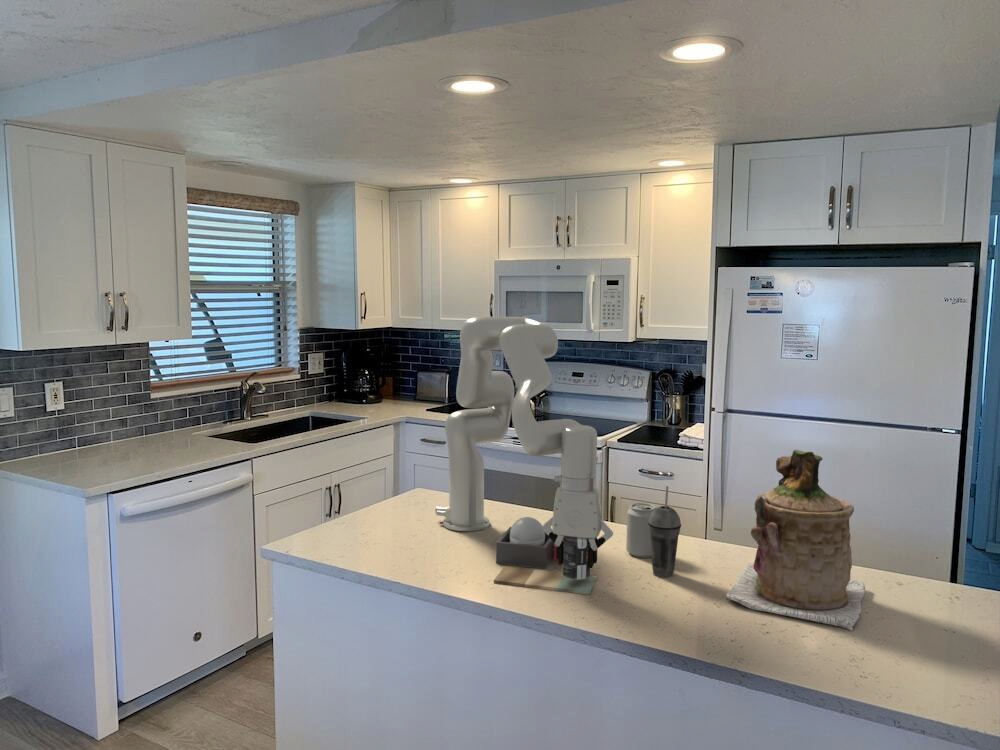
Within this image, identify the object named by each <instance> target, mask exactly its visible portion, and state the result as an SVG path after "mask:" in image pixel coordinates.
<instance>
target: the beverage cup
mask: <svg viewBox="0 0 1000 750" xmlns="http://www.w3.org/2000/svg"><path fill="white" fill-rule="evenodd" d="M668 495H669V486H667V485H666V486H665V496H664V499H665V500H664V505H662V506H658V507H656V509H655V510H654V511H653V512H652V513H651V516H650V518H649V522H648V524H649V531H650V536H651V554H652V557H651V566H652V567H651V568H652V574H653V576H655V577H658V578H663V579H664V578H668V579H669V578H671V577H674V571H675V566H676V558H677V557H676V556H677V550H678V543H679V542H678V541H679V536H680V532H681V528H682V522H681V518H680V515H679V514H678V512H677V511H676V510H675V509H674V508H672V507H670V506H668V500H669V499H668V498H669V496H668Z"/></svg>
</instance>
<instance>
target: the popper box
mask: <svg viewBox="0 0 1000 750" xmlns="http://www.w3.org/2000/svg"><path fill="white" fill-rule="evenodd" d="M511 527H512V526H509V528H507V530H506V531H505V532H504V533H503V534H502V535H501V537H499V538H498V539H497V541H496V542H495V563H496V564H502V565H508V566H510V565H511V566H516V567H525V568H527V567H529V568H534V569H535V568H536V569H542V570H546V569H547V568H548V566H549V564H550V563H551V562H552V560H553V561H558V562H559V559H556V546H555V543H554V542H553V541H552V540H551V539H550V538H549V536H548V534H546V533H545V545H544V546H537V545H527V544H518V543H510V530H511Z"/></svg>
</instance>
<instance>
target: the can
mask: <svg viewBox="0 0 1000 750" xmlns="http://www.w3.org/2000/svg"><path fill="white" fill-rule="evenodd" d="M656 508H657V506H656V505H654V504H653V503H647V502H636V503H635V502H633V503H631V504H630V505H629V508H628V510H627V514H626V548H625V549H626V552H628V553H629V555H631V556H632V555H633V556H632V557H635V558H641V557H642V558H643V559H645V558H646V559H647V558H652V554H651V536H650V531H649V524H648V522H649V518H650V516H651V513H652V512H653V511H654V510H655V509H656Z"/></svg>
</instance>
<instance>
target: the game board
mask: <svg viewBox="0 0 1000 750" xmlns="http://www.w3.org/2000/svg"><path fill="white" fill-rule="evenodd" d="M596 580H597V576H596V575H590V576H589V577H588V578H586V579H581V580H575V579H569V578H567V577H565V576H564V575H563V571H553V570H546V569H539V568H536V569H535V568H530V567H529V568H527V567H522V566H513V565H511V566H510V565H504V567H503V568H502V569H501V571H500V572H499V573H498V574H497V575H496V576H495V578H494V579H493V583H494V584H501V585H509V586H517V587H523V588H524V587H525V588H533V589H541V590H542V589H543V590H548V591H558V592H564V593H565V592H567V593H574V594H581V595H590V593H591V591H592V589H593V588H594V584H595V582H596Z"/></svg>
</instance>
